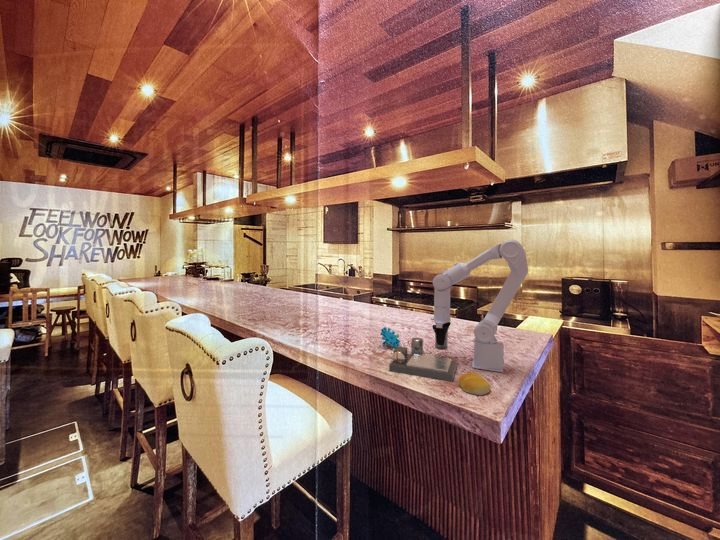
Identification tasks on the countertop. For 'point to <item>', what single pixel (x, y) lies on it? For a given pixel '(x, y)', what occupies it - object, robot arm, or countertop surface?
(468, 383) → the bread roll
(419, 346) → the cylinder
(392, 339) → the gear
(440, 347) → the cylinder
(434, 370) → the grey fixture base
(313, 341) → the countertop surface
